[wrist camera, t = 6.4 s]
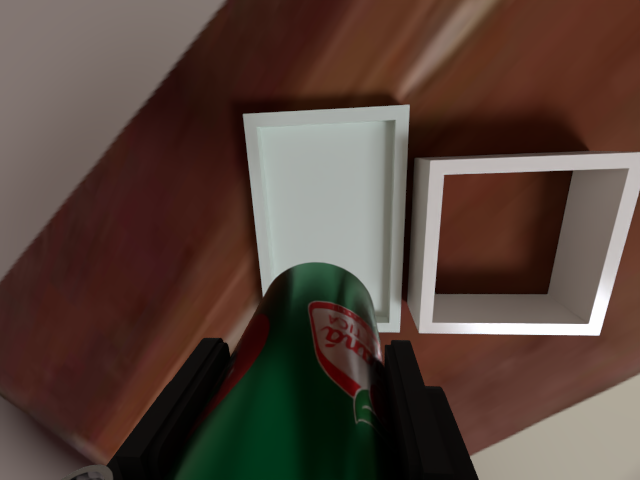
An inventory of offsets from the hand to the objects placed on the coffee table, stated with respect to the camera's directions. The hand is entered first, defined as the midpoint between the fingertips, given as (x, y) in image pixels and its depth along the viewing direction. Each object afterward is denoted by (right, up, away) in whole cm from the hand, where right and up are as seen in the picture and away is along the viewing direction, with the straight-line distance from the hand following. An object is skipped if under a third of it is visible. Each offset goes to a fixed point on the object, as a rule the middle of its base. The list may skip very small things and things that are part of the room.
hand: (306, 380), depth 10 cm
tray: (+1, +6, +18) cm, 19 cm away
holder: (+16, +5, +17) cm, 24 cm away
